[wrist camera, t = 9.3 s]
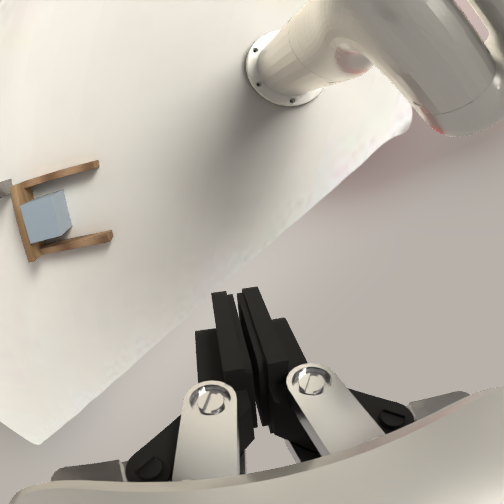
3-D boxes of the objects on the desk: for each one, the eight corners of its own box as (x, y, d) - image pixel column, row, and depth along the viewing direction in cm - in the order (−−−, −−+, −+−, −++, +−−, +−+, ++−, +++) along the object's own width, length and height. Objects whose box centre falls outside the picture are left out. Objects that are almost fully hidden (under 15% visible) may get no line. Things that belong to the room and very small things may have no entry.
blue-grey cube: (63, 189, 39) (50, 195, 35) (72, 225, 41) (61, 235, 37) (34, 198, 38) (19, 205, 34) (43, 233, 41) (30, 243, 36)
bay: (98, 160, 39) (87, 163, 34) (113, 236, 43) (105, 247, 39) (24, 181, 37) (9, 187, 32) (41, 250, 41) (28, 262, 37)
